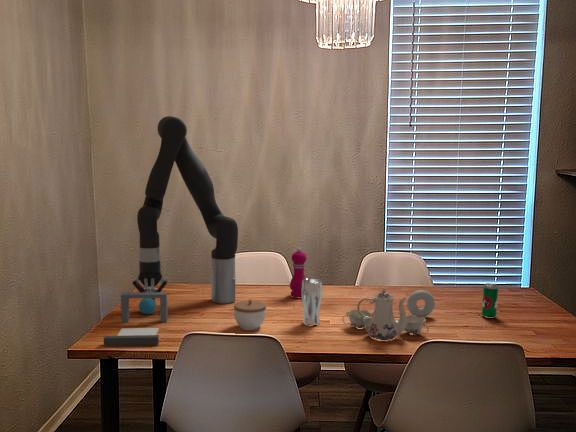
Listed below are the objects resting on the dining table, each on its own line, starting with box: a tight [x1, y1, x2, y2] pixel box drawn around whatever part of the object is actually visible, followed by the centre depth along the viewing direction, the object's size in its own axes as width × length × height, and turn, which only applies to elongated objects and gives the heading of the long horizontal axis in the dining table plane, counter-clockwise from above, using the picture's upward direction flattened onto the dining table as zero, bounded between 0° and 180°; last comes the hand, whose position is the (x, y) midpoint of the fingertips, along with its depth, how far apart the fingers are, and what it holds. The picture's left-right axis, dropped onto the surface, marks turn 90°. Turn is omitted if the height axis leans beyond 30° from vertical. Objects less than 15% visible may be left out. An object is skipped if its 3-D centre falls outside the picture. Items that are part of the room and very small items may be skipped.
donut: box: [406, 289, 436, 318], centre depth 195 cm, size 10×4×10 cm, turn 94°
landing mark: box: [116, 327, 160, 336], centre depth 174 cm, size 12×12×1 cm
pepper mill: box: [289, 247, 308, 298], centre depth 220 cm, size 7×7×20 cm
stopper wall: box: [103, 334, 160, 347], centre depth 165 cm, size 16×2×2 cm, turn 95°
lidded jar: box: [233, 299, 267, 331], centre depth 182 cm, size 11×11×9 cm
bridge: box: [120, 291, 169, 324], centre depth 187 cm, size 3×15×10 cm, turn 95°
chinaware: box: [342, 287, 429, 340], centre depth 177 cm, size 28×17×17 cm, turn 78°
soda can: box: [481, 282, 499, 317], centre depth 196 cm, size 5×5×12 cm
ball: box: [138, 298, 157, 315], centre depth 195 cm, size 6×6×6 cm
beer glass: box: [301, 278, 323, 325], centre depth 187 cm, size 7×7×15 cm
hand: (150, 305), depth 201 cm, fingers closed
